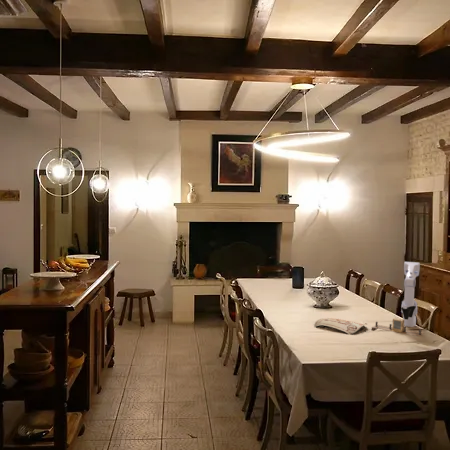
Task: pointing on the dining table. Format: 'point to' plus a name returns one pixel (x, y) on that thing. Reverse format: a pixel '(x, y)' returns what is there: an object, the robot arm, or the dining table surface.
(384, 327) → the peg board
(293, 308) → the dining table surface
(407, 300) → the robot arm
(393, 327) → the light brown rectangular slab
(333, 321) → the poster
